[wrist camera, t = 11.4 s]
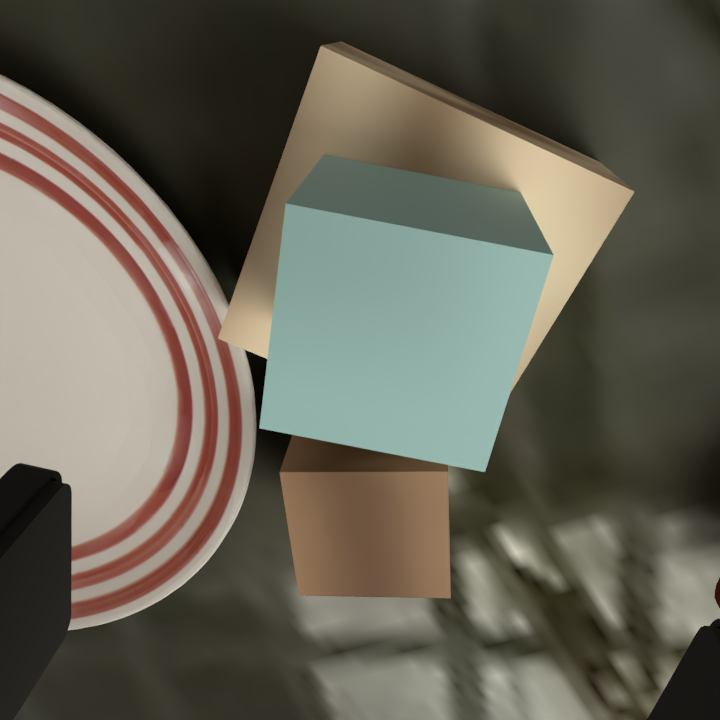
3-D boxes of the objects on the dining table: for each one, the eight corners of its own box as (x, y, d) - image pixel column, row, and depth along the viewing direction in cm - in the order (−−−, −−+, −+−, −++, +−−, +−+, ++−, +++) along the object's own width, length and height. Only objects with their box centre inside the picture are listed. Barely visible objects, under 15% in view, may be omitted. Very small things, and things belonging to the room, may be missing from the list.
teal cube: (520, 192, 20) (554, 255, 15) (471, 366, 23) (484, 471, 17) (323, 154, 20) (285, 203, 15) (298, 333, 23) (258, 428, 18)
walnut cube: (445, 387, 29) (447, 471, 23) (447, 500, 31) (450, 598, 26) (307, 390, 29) (279, 472, 24) (321, 500, 32) (299, 595, 27)
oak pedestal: (597, 160, 24) (634, 191, 20) (470, 380, 29) (477, 446, 24) (342, 41, 23) (320, 45, 19) (252, 287, 28) (217, 338, 23)
